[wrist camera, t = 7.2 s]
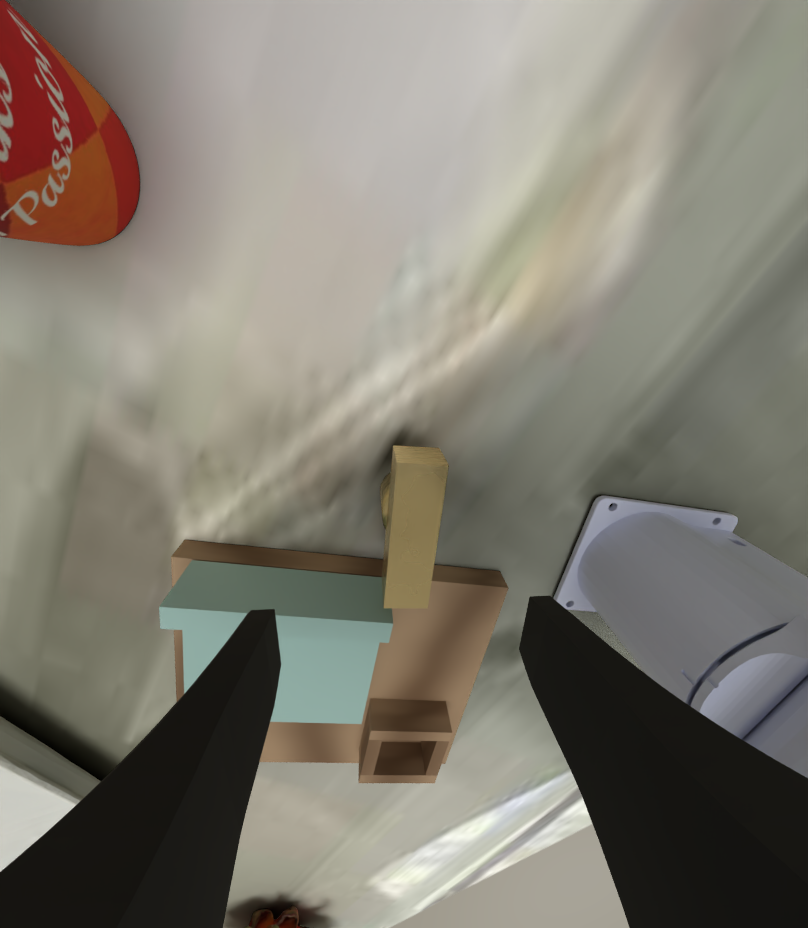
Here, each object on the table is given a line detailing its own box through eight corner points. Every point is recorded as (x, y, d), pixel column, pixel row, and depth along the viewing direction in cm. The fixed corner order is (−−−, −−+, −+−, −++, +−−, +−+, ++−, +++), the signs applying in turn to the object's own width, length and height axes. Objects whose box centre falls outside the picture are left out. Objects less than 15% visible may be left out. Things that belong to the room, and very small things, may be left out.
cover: (389, 578, 20) (393, 623, 17) (361, 704, 24) (361, 760, 21) (191, 560, 18) (159, 607, 16) (193, 698, 22) (167, 758, 19)
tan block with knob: (417, 544, 21) (432, 608, 17) (375, 544, 21) (379, 608, 17) (431, 428, 19) (453, 465, 14) (384, 425, 19) (391, 462, 14)
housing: (499, 571, 23) (522, 613, 20) (441, 741, 28) (451, 796, 25) (184, 540, 20) (149, 584, 17) (189, 736, 25) (163, 798, 22)
